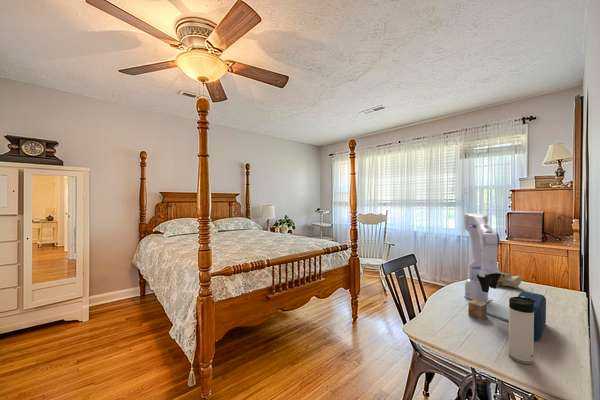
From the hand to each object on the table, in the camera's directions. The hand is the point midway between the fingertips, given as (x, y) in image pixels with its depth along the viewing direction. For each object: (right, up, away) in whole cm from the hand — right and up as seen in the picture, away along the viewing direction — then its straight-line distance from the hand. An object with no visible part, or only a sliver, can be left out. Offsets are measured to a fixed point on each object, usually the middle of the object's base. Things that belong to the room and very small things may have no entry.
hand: (489, 289), depth 117 cm
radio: (+6, -11, -13) cm, 18 cm away
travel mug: (-12, -12, -31) cm, 36 cm away
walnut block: (-7, -11, -2) cm, 13 cm away
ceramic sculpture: (+33, -9, +33) cm, 47 cm away
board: (+5, -10, +1) cm, 12 cm away
